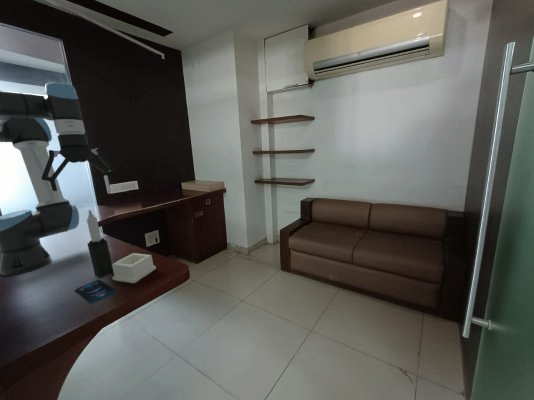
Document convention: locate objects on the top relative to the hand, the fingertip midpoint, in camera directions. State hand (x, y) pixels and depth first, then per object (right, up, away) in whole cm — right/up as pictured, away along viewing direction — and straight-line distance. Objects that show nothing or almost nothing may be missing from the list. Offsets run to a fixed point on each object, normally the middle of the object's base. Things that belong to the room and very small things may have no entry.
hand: (86, 196), depth 83 cm
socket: (+15, -29, +4) cm, 33 cm away
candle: (+2, -29, +7) cm, 30 cm away
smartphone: (+7, -32, -5) cm, 33 cm away
